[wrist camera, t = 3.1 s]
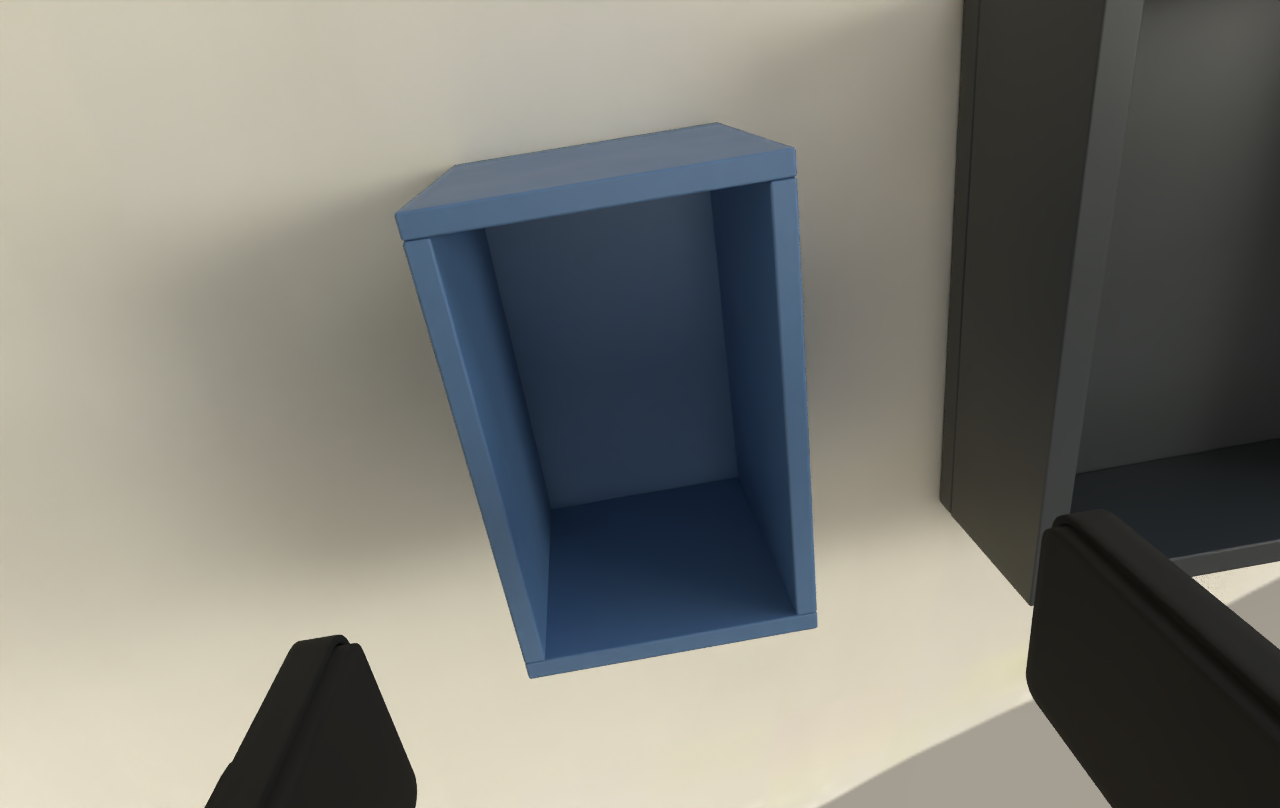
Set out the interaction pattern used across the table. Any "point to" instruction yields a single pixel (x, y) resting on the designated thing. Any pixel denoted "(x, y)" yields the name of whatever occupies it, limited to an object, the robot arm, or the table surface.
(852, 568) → the table surface
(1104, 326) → the box
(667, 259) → the blue bin
